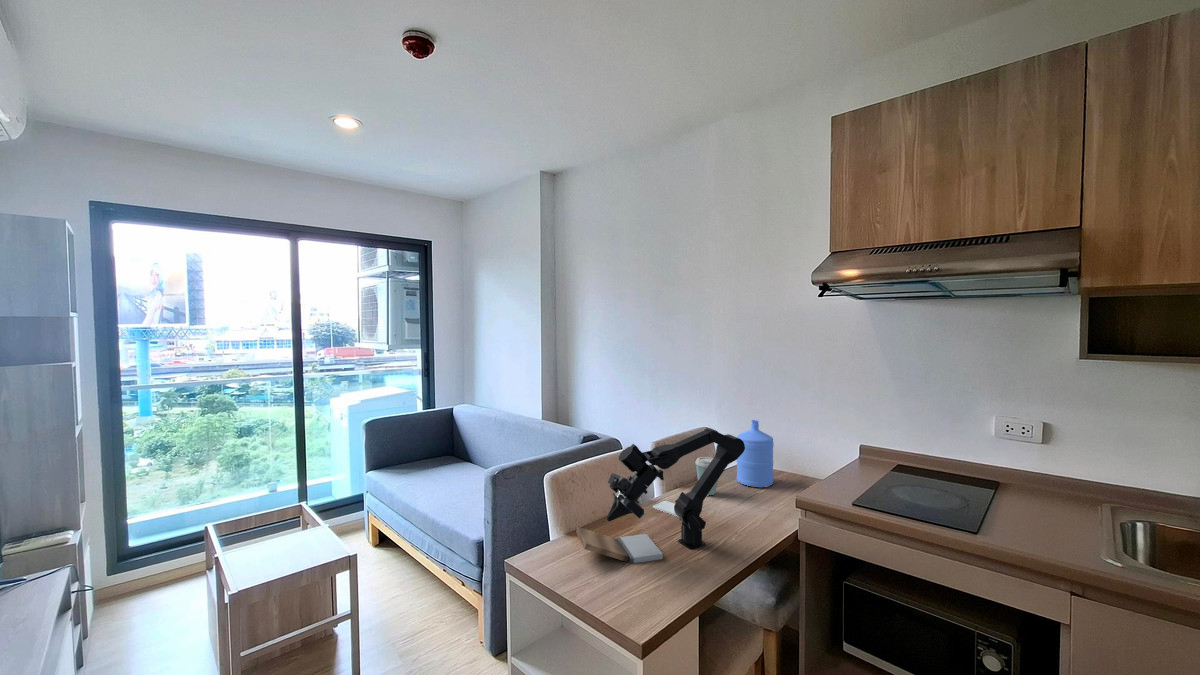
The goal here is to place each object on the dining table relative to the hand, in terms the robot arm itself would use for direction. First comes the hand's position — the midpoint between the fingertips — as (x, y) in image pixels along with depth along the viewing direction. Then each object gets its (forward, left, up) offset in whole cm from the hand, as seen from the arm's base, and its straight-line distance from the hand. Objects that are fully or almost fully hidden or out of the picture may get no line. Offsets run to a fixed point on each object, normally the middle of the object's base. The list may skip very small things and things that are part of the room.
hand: (607, 520), depth 142 cm
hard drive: (+18, -39, -11) cm, 45 cm away
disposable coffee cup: (+24, -63, -11) cm, 68 cm away
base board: (-3, -10, -11) cm, 15 cm away
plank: (+1, +2, -8) cm, 8 cm away
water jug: (+24, -91, -11) cm, 95 cm away
